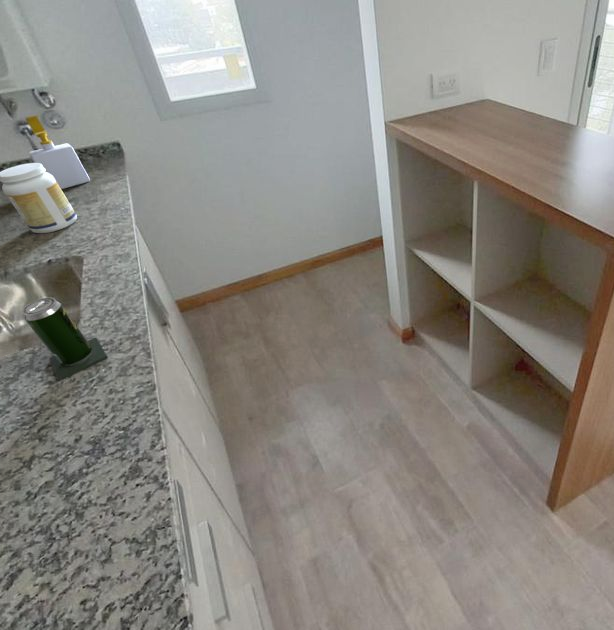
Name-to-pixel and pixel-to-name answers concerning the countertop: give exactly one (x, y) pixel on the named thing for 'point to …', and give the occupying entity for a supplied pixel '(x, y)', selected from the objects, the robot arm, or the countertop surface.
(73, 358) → the beer can
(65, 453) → the countertop surface
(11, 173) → the supplement tub
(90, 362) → the coaster
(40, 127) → the soap bottle
